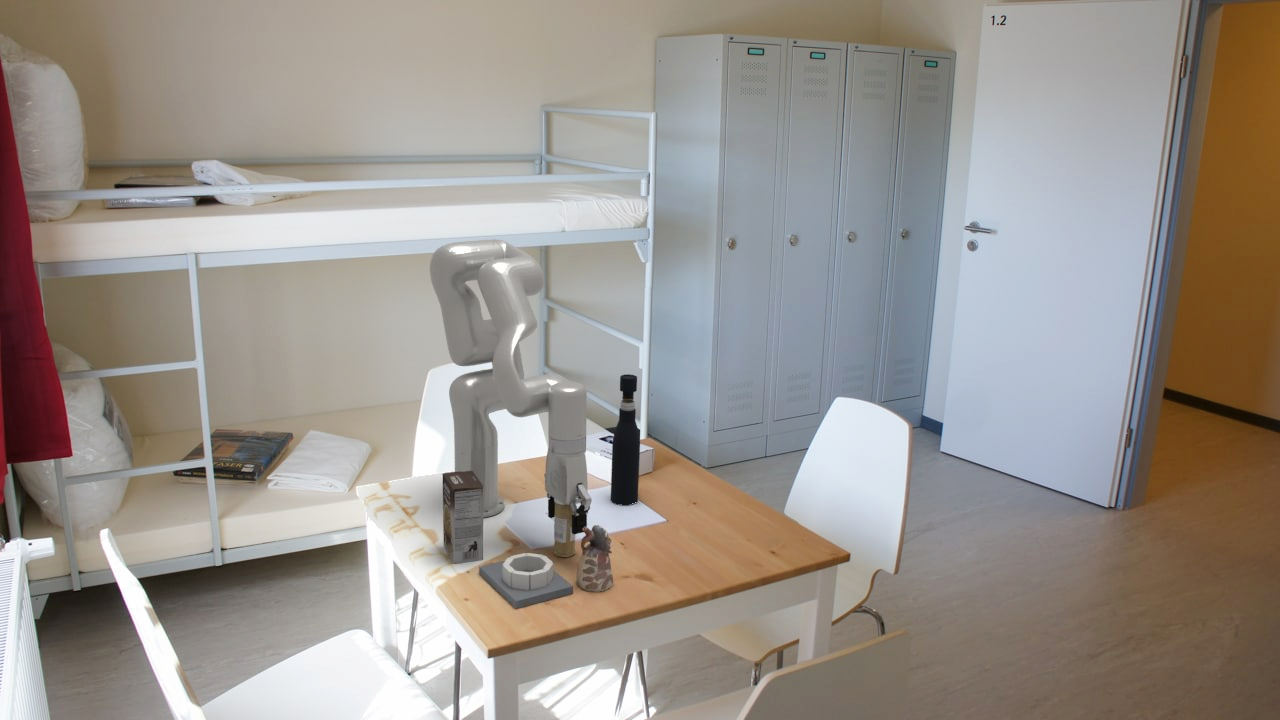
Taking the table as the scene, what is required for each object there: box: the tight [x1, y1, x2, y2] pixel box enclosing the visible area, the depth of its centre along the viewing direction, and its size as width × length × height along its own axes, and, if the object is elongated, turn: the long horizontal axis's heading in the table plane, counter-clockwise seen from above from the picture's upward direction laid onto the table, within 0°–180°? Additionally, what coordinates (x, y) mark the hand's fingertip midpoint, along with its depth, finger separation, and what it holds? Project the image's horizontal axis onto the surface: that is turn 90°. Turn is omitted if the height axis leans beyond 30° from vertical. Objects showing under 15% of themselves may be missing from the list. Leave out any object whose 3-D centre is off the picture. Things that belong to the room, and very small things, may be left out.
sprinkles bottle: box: [553, 498, 578, 558], centre depth 204 cm, size 5×5×13 cm
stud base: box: [478, 552, 574, 609], centre depth 192 cm, size 16×12×4 cm
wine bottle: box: [610, 374, 641, 506], centre depth 231 cm, size 6×6×30 cm
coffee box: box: [441, 471, 484, 565], centre depth 202 cm, size 9×6×16 cm
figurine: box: [576, 524, 614, 593], centre depth 192 cm, size 7×7×12 cm
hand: (567, 524), depth 204 cm, fingers open, 9 cm apart
